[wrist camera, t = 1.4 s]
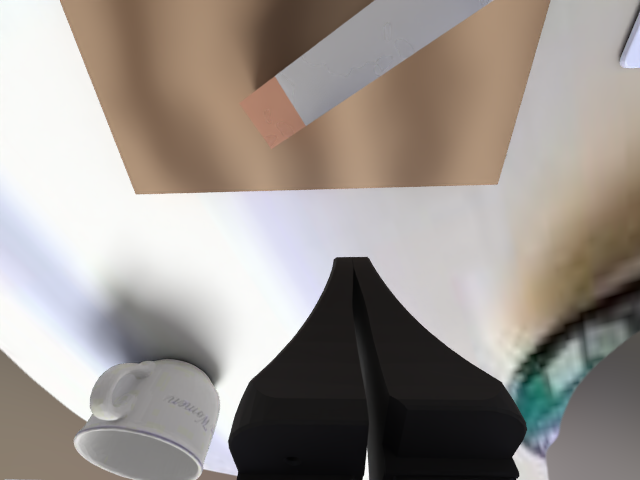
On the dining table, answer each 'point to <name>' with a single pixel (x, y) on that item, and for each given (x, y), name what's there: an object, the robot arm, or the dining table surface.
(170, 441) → the teacup
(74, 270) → the dining table surface
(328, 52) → the tong arm
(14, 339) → the dining table surface
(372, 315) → the robot arm
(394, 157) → the board
